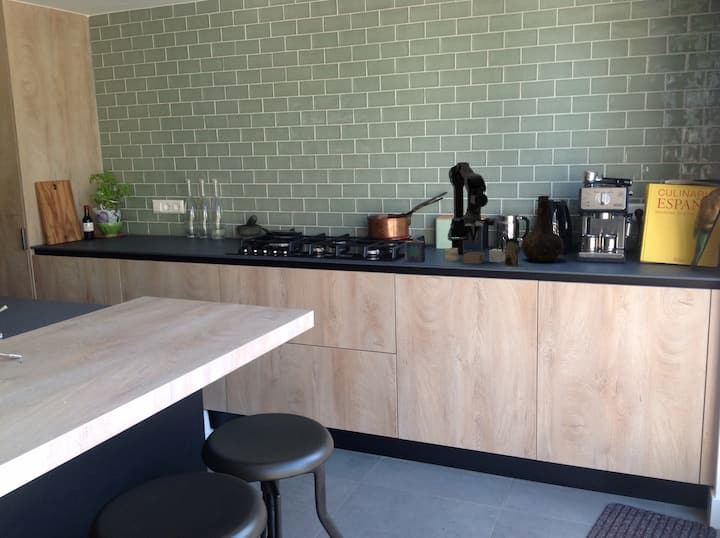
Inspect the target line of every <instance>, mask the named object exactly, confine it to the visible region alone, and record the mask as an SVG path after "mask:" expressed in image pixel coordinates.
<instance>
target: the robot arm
mask: <svg viewBox="0 0 720 538" xmlns="http://www.w3.org/2000/svg"><path fill="white" fill-rule="evenodd" d="M448 179H449V183H450V185H451V186H452V187H453V189H452V190H453V217H452V219H451V220H450V221H451V223H450V224H449V225H450V227H449V229H448V233H447V240H448V241H449V242H451V248H458V255H464V254H465V253H467V251H466V250H465V247H464V246H465V242H464V241H468V240H469V235H470V237H471V240H472V242H476V240H477V237H478V235H479V232H480V230H481V228H482V227H484V226H487V227H489V226H491V227H492V226H493V227H494V226H496V225H497V224H498V220H497V218H496V217H486V218H484V219H482V214H481V213H482V207H486V205H487V204H488V202H489V197H488V196H487V194H486V192H487V185H486V182H485V180H484V178H483V176H482V175H481V174H479V173H475V172H474V171H473V169H472V167H471V166H470V163H469V162H468V161H463V162H462V161H460V162H456V165H454V166H452V167H450V169H449V170H448ZM464 187H465V189H466V193H467V196H466V197H467V199H466V200H467V202H466V204H467V205H466V212H464V208H465V207H464V206H465V205H464V200H465V199H464ZM464 213H465V214H464Z"/></svg>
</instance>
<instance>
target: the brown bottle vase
mask: <svg viewBox="0 0 720 538" xmlns="http://www.w3.org/2000/svg"><path fill="white" fill-rule="evenodd" d="M549 198H550V196H549V195H539V196H538V197H537V199H536V200H535V201H536V202H537V212H536V217H535V218H536V219H535V223H534V228H533V230H532V231H531V232H530V233H528V234H526V236H525V237H524V238H523V239H522V241H521V251H522V253H523V255H524V256H525V257H526V258H527V259H528V260H529V261H532V262H536V263H537V262H540V263H545V262H553V261H555V260H557V259H558V258H559V257H560V256H561V255H562V253H563V251H564V250H565V249H564V248H565V244H564V243H565V242H564V240H563V238H562V237H561V236H560V235H559V234H557V233H554V232H553V231H552V229H551V225H550V213H549V202H551V199H549Z"/></svg>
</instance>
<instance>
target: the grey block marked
mask: <svg viewBox="0 0 720 538" xmlns="http://www.w3.org/2000/svg"><path fill="white" fill-rule="evenodd" d="M503 251H504V252H506V249H503ZM488 253H489V254H488V255H489V256H488V257H489V258H488V261H489V262H491V263H498V264H499V263H502V262H505V253H503V252H502V249H500V248H493V249H490V250H489V252H488Z"/></svg>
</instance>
